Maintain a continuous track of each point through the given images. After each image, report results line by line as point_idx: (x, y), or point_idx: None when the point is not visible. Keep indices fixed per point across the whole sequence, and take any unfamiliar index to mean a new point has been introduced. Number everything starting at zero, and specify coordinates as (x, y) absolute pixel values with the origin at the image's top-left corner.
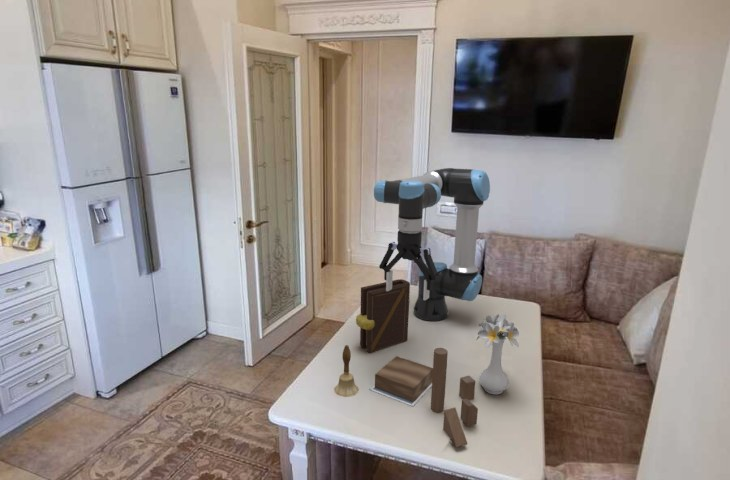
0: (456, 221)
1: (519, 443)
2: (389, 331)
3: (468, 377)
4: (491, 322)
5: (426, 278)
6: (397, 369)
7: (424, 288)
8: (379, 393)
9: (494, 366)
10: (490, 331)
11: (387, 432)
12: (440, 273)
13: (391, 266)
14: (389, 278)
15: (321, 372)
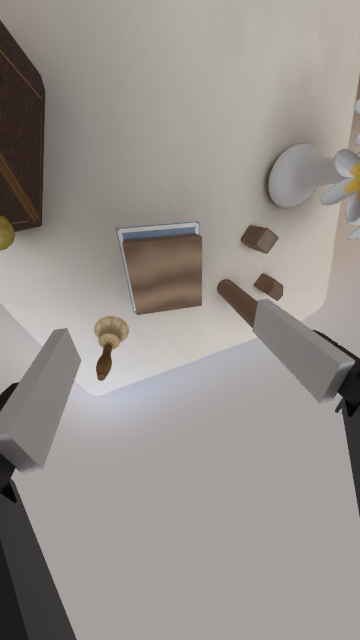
0: None
1: (313, 280)
2: (19, 152)
3: (268, 236)
4: None
5: (345, 411)
6: (155, 282)
7: (288, 365)
8: None
9: (318, 186)
10: None
11: (197, 348)
12: None
13: (27, 532)
14: (55, 409)
15: (48, 327)
